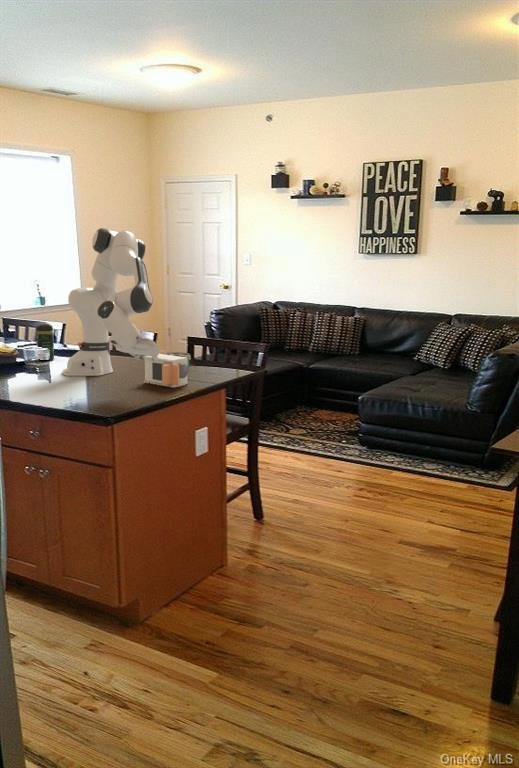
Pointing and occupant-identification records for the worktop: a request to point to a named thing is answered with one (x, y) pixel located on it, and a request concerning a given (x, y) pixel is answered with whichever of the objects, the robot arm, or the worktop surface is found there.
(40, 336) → the coffee jar
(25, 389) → the worktop surface
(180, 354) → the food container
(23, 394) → the worktop surface
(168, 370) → the side door
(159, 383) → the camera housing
